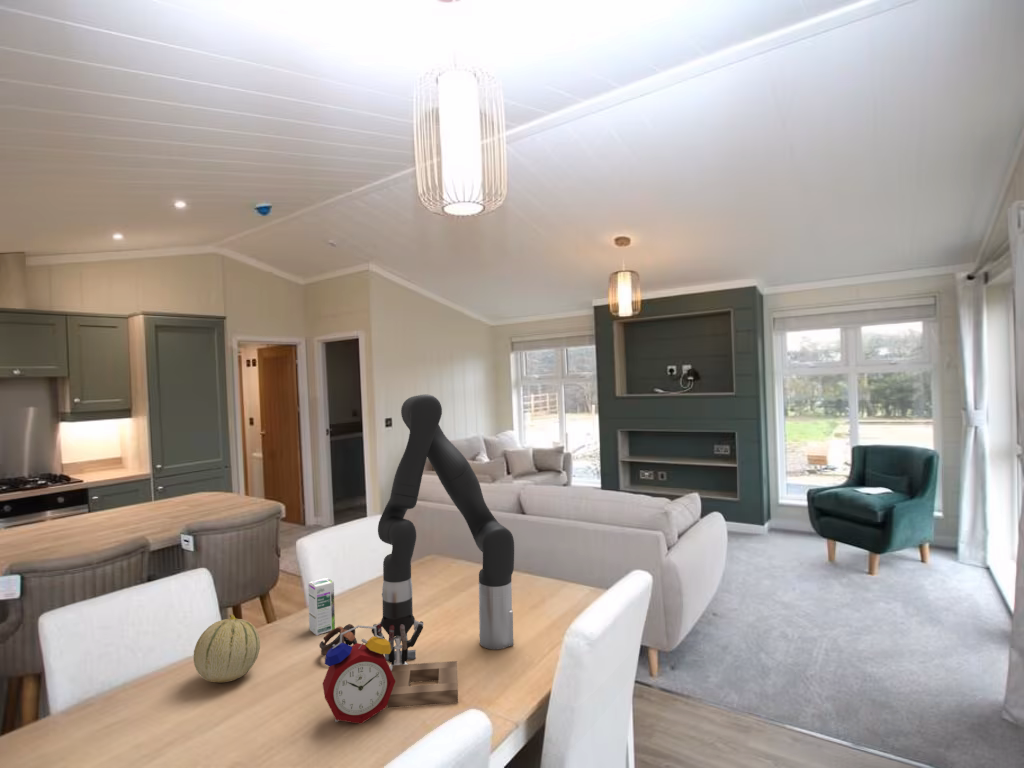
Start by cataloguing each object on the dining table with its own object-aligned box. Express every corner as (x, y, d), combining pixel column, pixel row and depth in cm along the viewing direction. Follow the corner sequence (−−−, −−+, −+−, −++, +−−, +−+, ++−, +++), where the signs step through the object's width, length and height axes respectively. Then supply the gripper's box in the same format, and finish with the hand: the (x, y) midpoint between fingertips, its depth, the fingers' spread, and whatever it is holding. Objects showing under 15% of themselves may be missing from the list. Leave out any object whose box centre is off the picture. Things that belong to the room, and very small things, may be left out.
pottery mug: (356, 665, 143) (339, 641, 141) (327, 678, 145) (309, 655, 143) (370, 633, 154) (354, 611, 153) (343, 645, 156) (327, 623, 154)
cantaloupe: (192, 702, 126) (191, 637, 126) (195, 672, 139) (194, 614, 139) (262, 685, 133) (261, 623, 133) (259, 658, 146) (258, 602, 146)
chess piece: (390, 664, 142) (389, 626, 142) (409, 663, 143) (408, 625, 143) (387, 674, 137) (386, 634, 137) (407, 673, 138) (406, 633, 138)
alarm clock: (325, 733, 114) (324, 638, 114) (322, 710, 122) (321, 621, 122) (396, 715, 120) (395, 624, 120) (388, 695, 128) (387, 610, 128)
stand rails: (415, 657, 146) (415, 649, 146) (412, 679, 135) (412, 671, 135) (385, 659, 145) (385, 651, 145) (379, 681, 134) (379, 673, 134)
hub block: (457, 672, 138) (457, 660, 138) (458, 702, 125) (457, 689, 125) (392, 677, 136) (392, 665, 136) (386, 708, 123) (386, 694, 123)
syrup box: (316, 636, 159) (315, 586, 159) (308, 629, 163) (308, 581, 163) (335, 630, 163) (334, 581, 163) (327, 623, 167) (326, 576, 167)
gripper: (425, 588, 144) (426, 654, 144) (372, 591, 143) (372, 657, 143) (424, 599, 137) (424, 668, 137) (367, 602, 135) (368, 672, 135)
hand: (398, 662), depth 140 cm, fingers closed on chess piece
